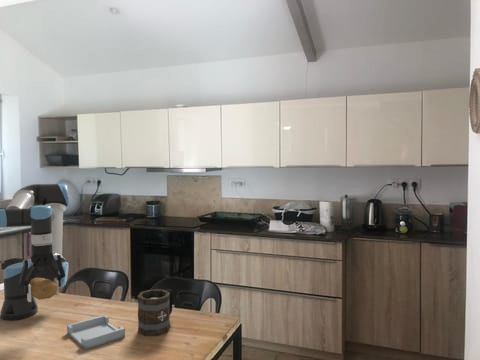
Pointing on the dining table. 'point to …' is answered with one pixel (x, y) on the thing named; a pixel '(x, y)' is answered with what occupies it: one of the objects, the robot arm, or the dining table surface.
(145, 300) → the mug
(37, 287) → the potato
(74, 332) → the light blue shallow tray
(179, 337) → the dining table surface
